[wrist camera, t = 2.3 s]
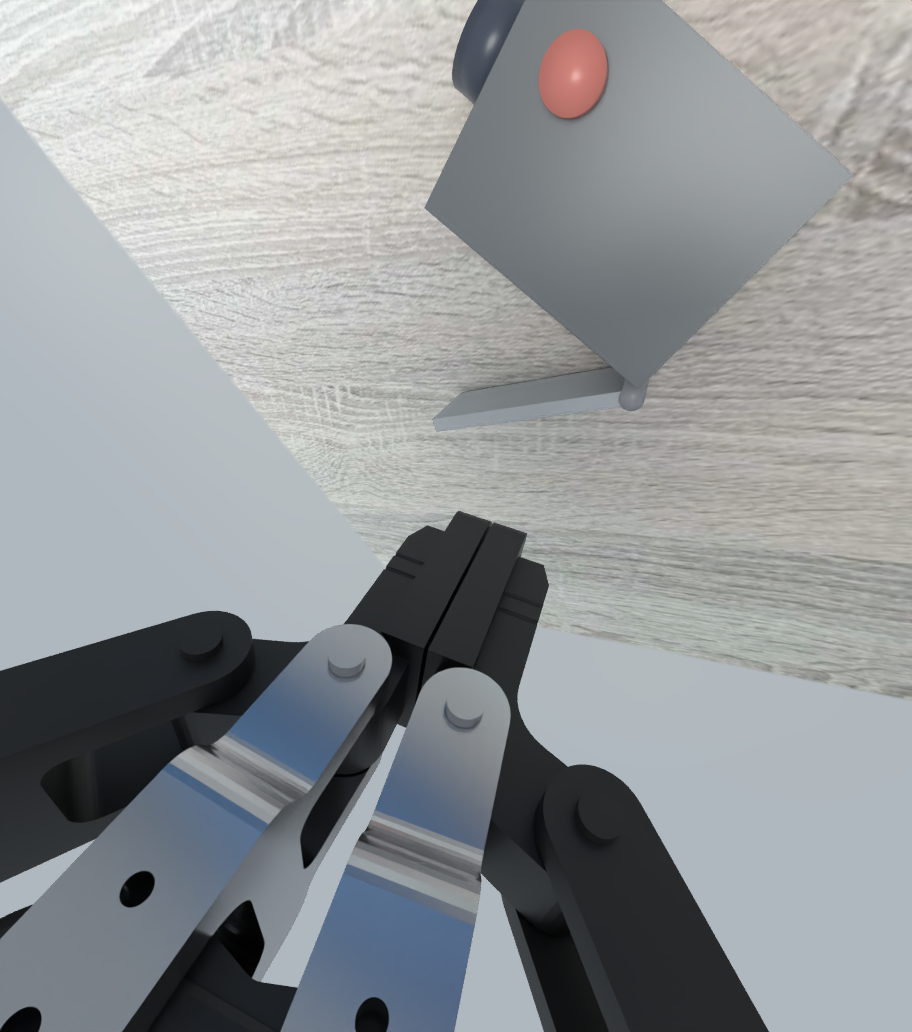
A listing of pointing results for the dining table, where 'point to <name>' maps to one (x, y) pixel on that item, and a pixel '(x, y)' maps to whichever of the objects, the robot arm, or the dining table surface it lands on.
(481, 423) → the side door
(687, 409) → the dining table surface
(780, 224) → the camera body
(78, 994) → the robot arm
